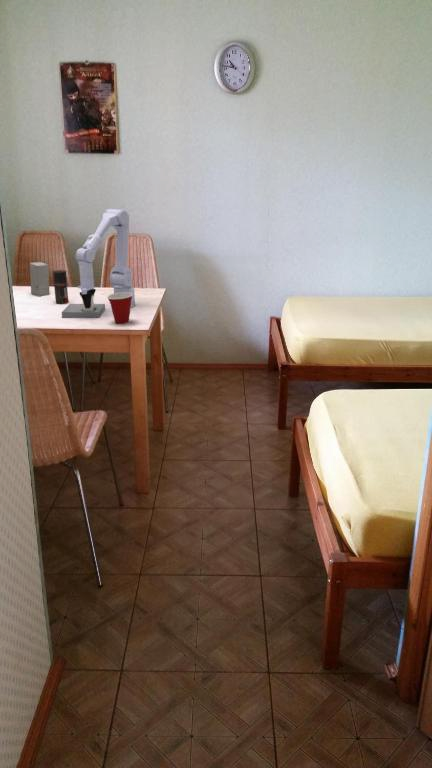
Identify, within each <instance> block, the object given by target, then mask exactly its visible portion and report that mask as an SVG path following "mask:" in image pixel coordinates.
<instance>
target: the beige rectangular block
mask: <svg viewBox="0 0 432 768" xmlns="http://www.w3.org/2000/svg"><path fill="white" fill-rule="evenodd" d="M81 299H82V298H81ZM82 304H83V311H94V304H95V302H94V297H93V295H92V298H91V307H90V308H85V306H84V302H83V299H82Z"/></svg>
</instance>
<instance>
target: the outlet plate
mask: <svg viewBox="0 0 432 768" xmlns="http://www.w3.org/2000/svg"><path fill="white" fill-rule="evenodd" d="M105 310H106V304H105V303H94V311H83V303H68V305H67V306H66V307H65V308H64V309H63V310H62V311H61V319H99V318H100V317H101V315H103V312H104V311H105Z"/></svg>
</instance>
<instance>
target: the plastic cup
mask: <svg viewBox="0 0 432 768" xmlns="http://www.w3.org/2000/svg"><path fill="white" fill-rule="evenodd" d="M132 295H133V294H132V293H127V292H124V293H115V294H114V293H112V294H109V295H107V296H106V298H107V299H108V301H109V304H110V308H111V312H112V315H113V319H114V322H115V324H119V325H120V324H127V323H129V321H130V314H131V308H132V307H131V299H132Z"/></svg>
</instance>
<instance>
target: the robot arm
mask: <svg viewBox="0 0 432 768" xmlns="http://www.w3.org/2000/svg"><path fill="white" fill-rule="evenodd" d="M101 217H102V219H101V221H100V223H99V225H98V227H97V229H96V231H95V232H94V234H90V235H88V237H87V240H85V243H84V244H83V245H82V246H81V247H80V248H78V249H77V250H76V252H75V255H74V257H75V260H76V261H77V265H78V269H79V270H78V271H79V280H80V281H79V283H80V285H77V288H78V289H80V290H81V292H79V295H80V297H81V299H83V301H82V303H83V302H84V306H85V308H90V307H91V298H92V295H93V298H94V296H95V293H96V291H97V289H96V288H95V283H94V282H95V281H94V268H93V261H95V258H96V253H97V251H98V249H99V247H100V246H101V244H102V241H103V240H102V238H103V237H104V236H105V235H106V234H107V232H108V231H109V229H110V228H111V227H112V228H114V229H115V230H116V244H115V245H116V246H115V265H114V266H113V267H112V268H111V269H110V275H109V282H110V284H111V286H112V287H113V294H115V293H124V292H127V293H132V294H133V295H132V299H131V307H130V308H134V306H135V304H136V301H135V300H136V298H135V297H136V296H135V287H134V286H132V284H133V282H134V281H133V279H134V278H133V274H132V270H131V268H130V267H128V260H129V259H128V258H129V255H128V253H129V238H130V237H129V236H130V224H129V223H130V214H129V213H128V212H127V211H126V209H116V208H115V209H114V208H106V209H105V211H104V213H103V214H102V215H101Z"/></svg>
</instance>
